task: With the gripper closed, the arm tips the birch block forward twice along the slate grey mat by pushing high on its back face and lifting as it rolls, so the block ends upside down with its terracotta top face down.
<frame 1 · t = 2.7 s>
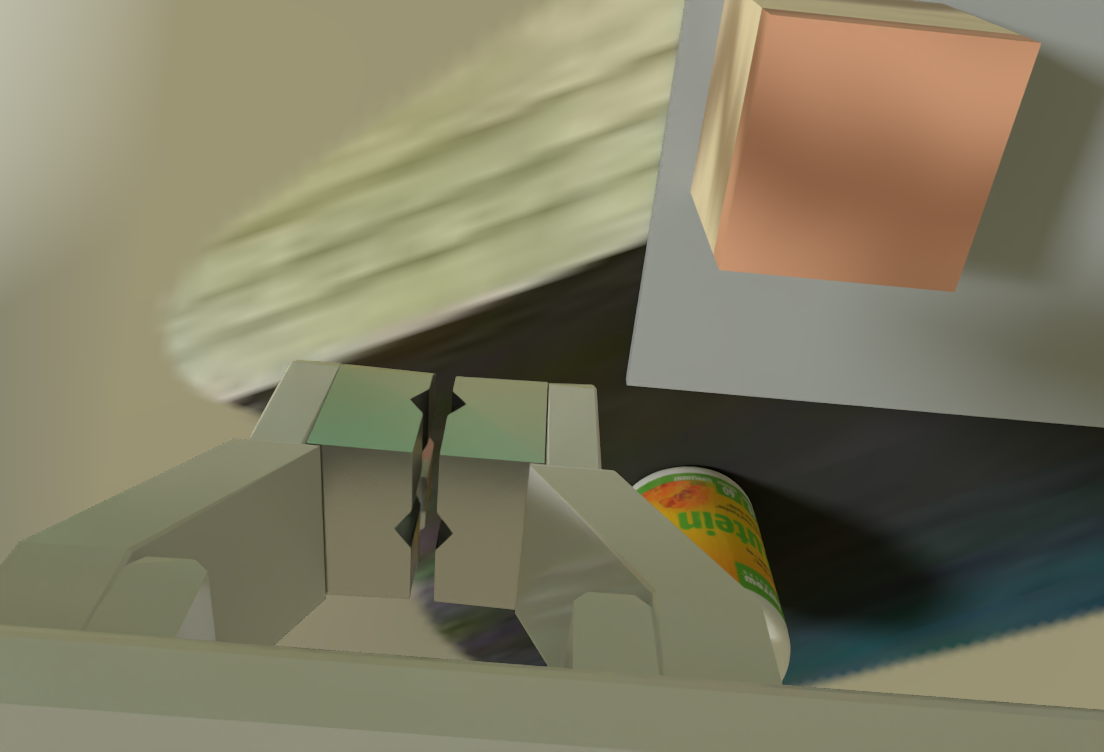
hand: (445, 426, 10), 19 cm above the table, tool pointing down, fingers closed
supplement bottle: (681, 515, 35), on the table
birch block: (809, 102, 26), resting on slate mat
slate mat: (1069, 125, 27), on the table
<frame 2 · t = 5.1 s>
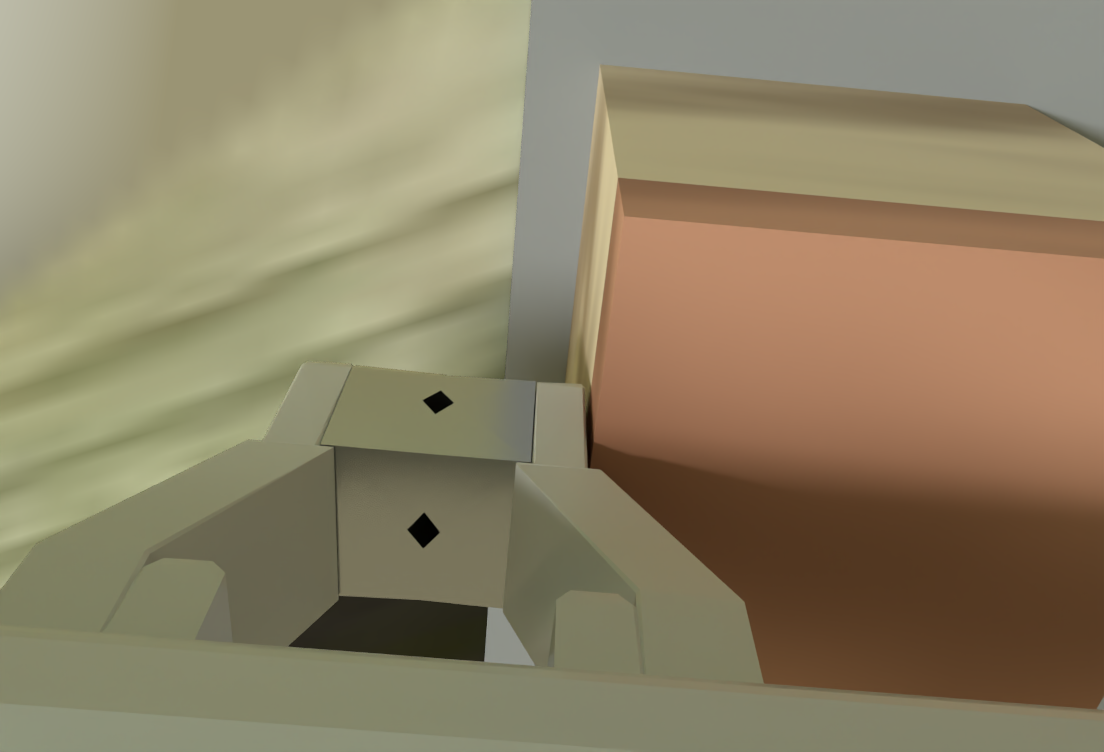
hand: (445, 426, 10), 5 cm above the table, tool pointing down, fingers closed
birch block: (769, 281, 14), resting on slate mat, touching gripper
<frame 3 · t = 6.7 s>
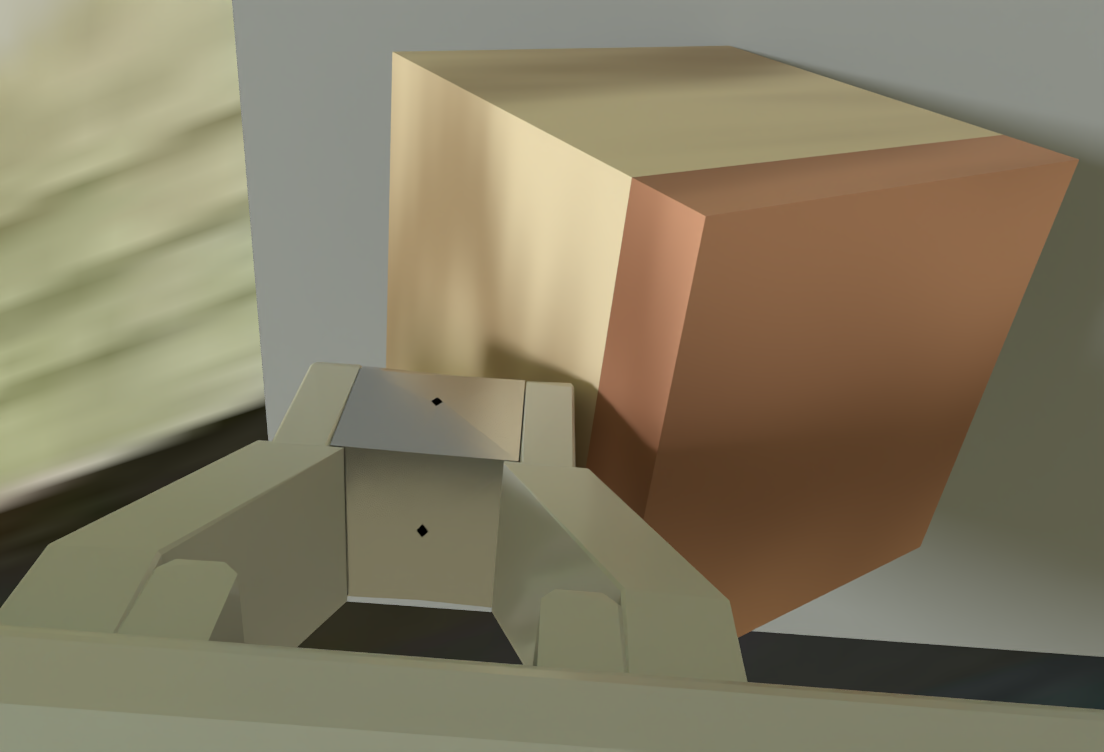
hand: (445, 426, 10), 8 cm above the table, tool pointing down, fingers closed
birch block: (557, 240, 15), point 2 cm above the table, tilted 35°, touching gripper, slate mat
slate mat: (905, 226, 17), on the table
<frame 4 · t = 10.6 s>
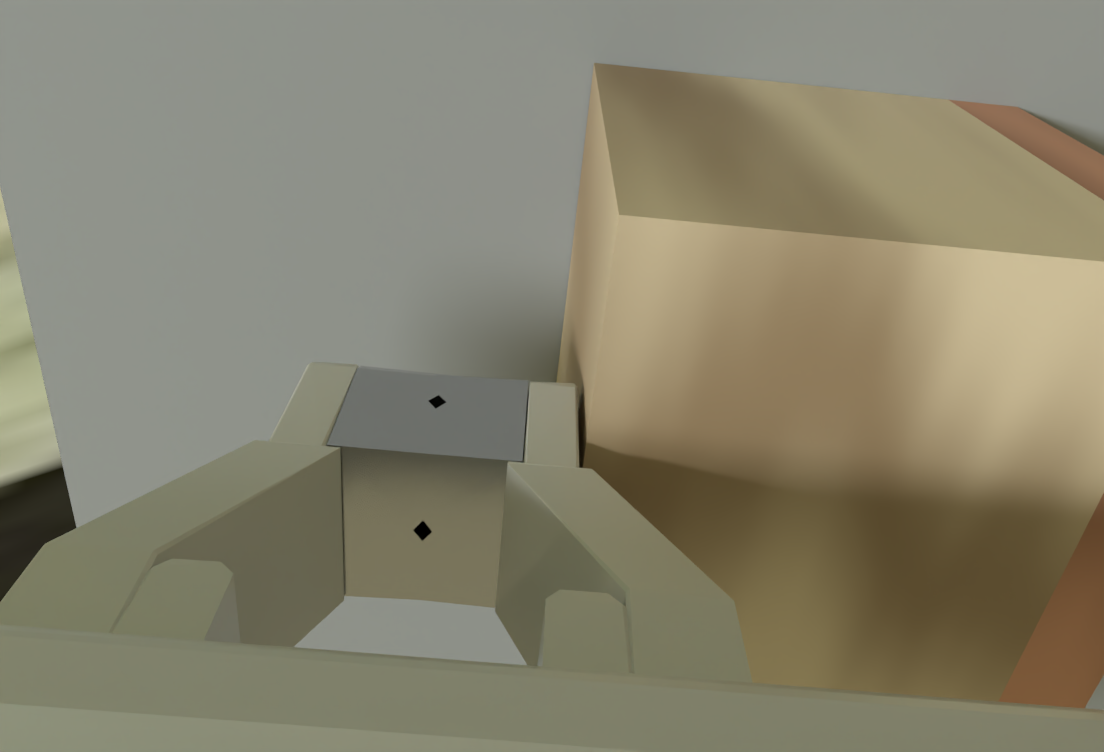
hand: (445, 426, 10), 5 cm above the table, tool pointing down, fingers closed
birch block: (573, 357, 11), point 4 cm above the table, tilted 90°, touching gripper, slate mat
slate mat: (782, 266, 15), on the table
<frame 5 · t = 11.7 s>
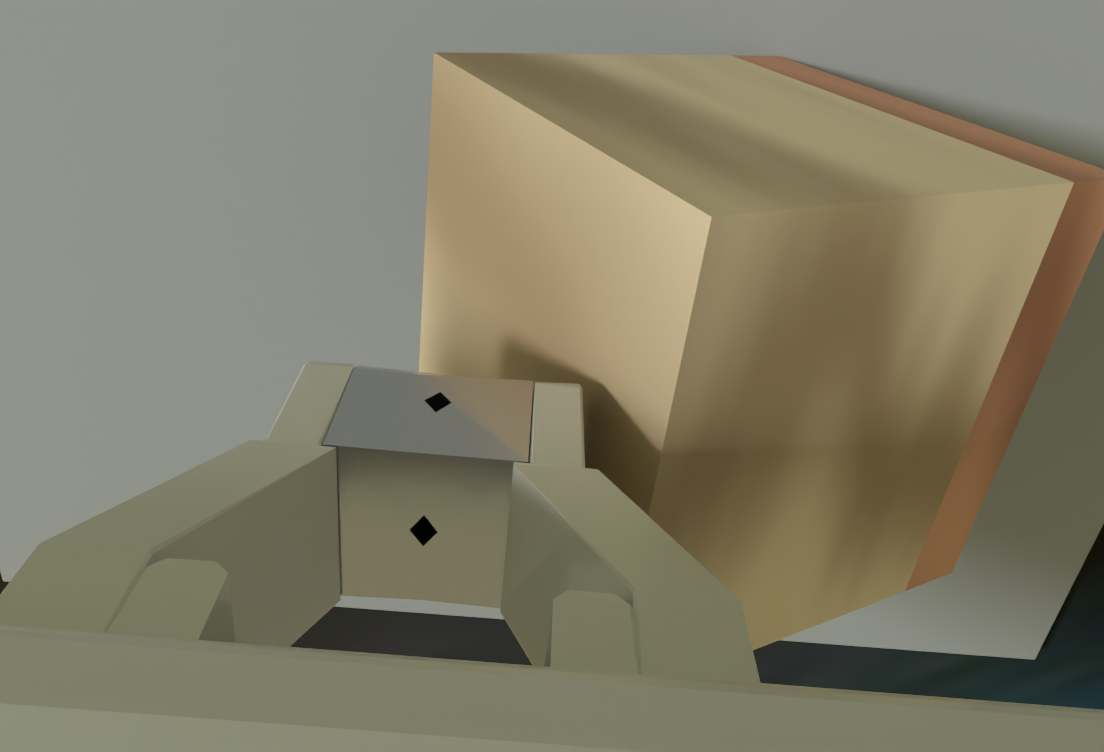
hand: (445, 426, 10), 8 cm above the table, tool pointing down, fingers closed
birch block: (515, 359, 11), point 6 cm above the table, tilted 120°, touching gripper, slate mat
slate mat: (573, 201, 17), on the table
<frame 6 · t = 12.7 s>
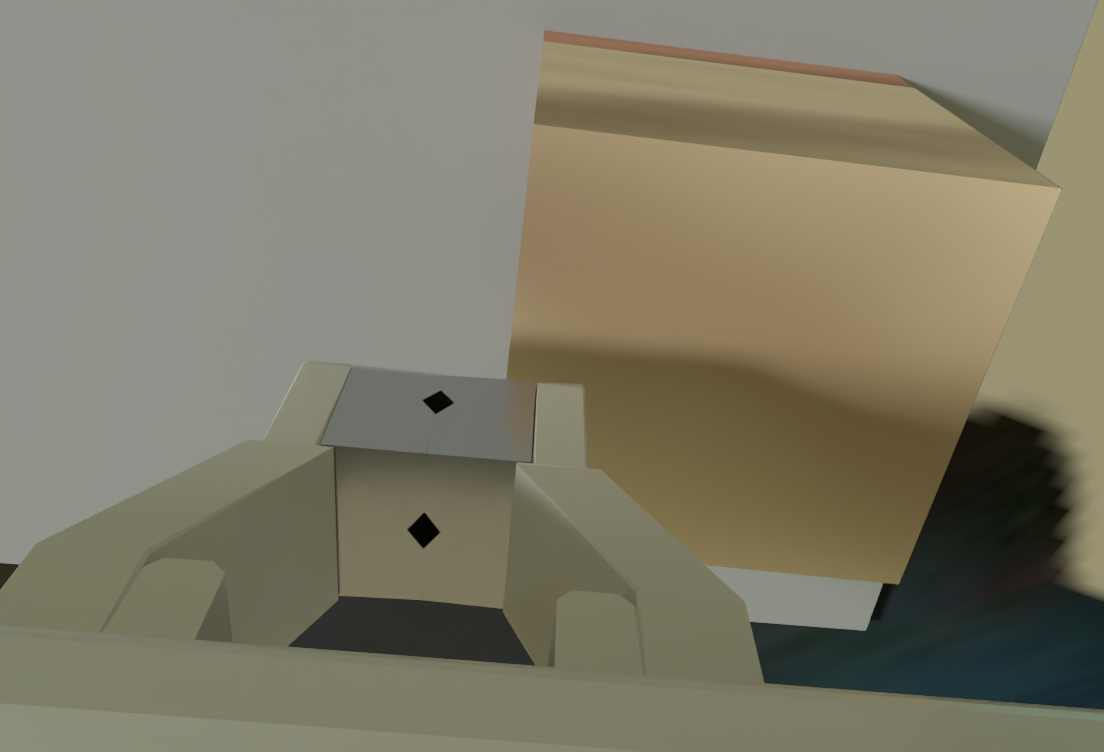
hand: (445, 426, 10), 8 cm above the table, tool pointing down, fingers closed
birch block: (741, 386, 12), point 6 cm above the table, tilted 180°, touching slate mat
slate mat: (367, 174, 17), on the table
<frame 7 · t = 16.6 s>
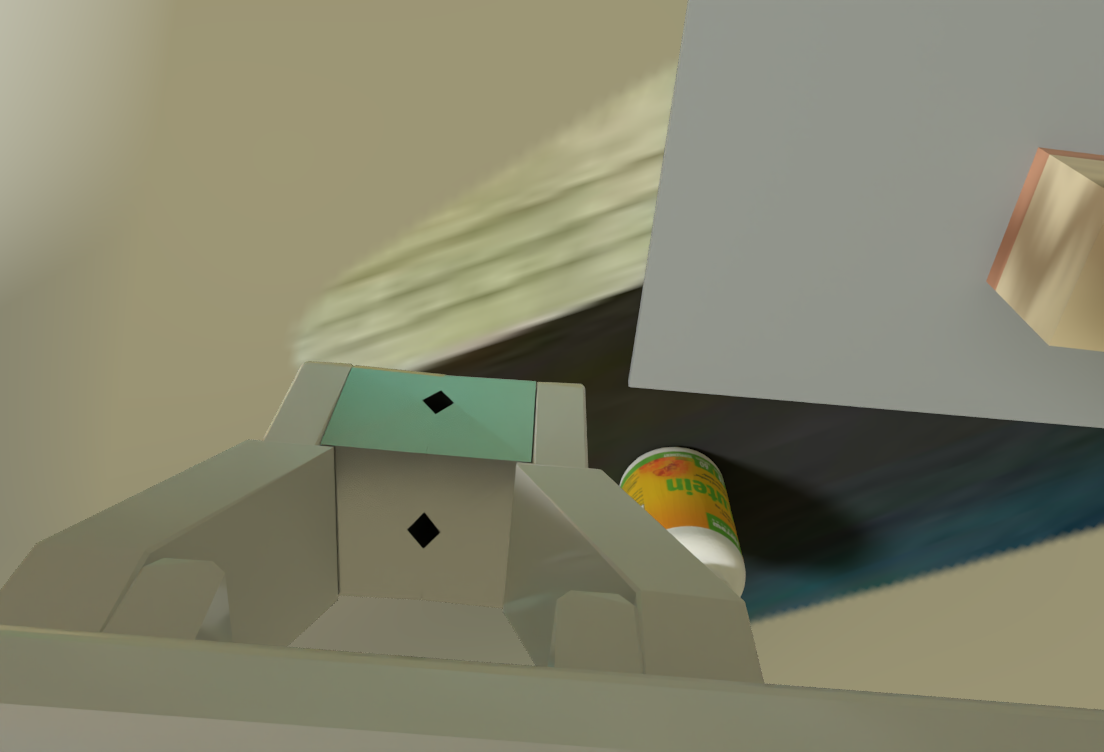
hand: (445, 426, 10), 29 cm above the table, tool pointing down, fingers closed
supplement bottle: (670, 484, 47), on the table
slate mat: (938, 204, 39), on the table
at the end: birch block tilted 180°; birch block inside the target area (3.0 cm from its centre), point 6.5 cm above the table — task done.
